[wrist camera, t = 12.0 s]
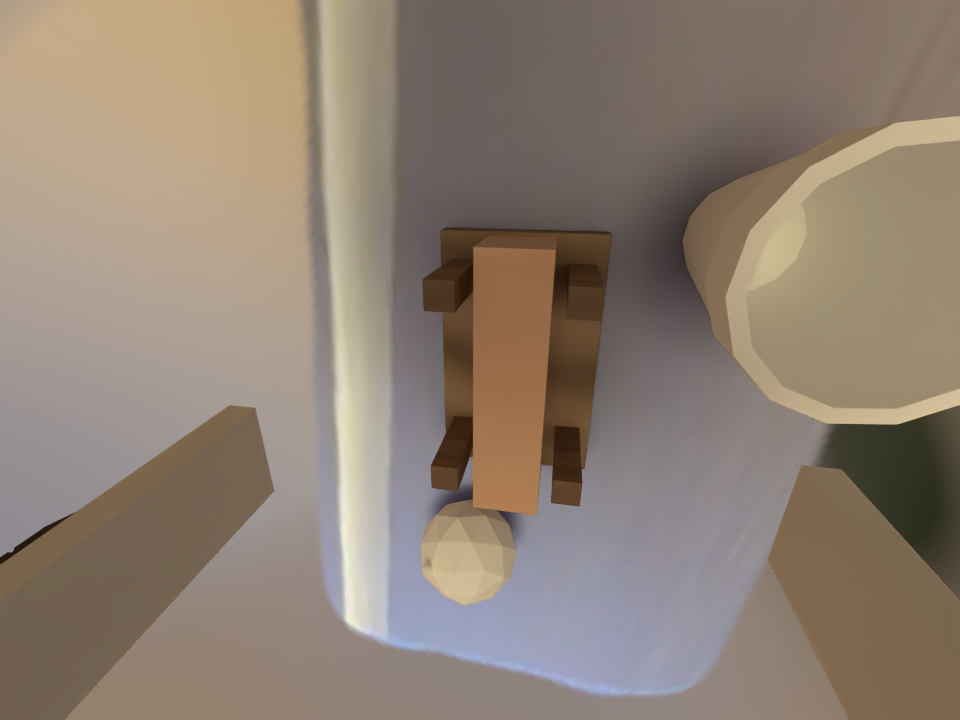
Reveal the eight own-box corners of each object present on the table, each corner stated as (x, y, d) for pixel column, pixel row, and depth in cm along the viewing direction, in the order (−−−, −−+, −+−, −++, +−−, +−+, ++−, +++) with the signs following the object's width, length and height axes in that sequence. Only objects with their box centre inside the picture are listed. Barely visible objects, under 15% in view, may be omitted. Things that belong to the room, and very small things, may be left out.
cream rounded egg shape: (474, 566, 38) (397, 608, 33) (467, 481, 38) (389, 509, 33) (539, 591, 33) (462, 646, 28) (531, 494, 33) (452, 529, 28)
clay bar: (540, 466, 32) (536, 515, 27) (486, 460, 32) (472, 506, 28) (557, 237, 26) (555, 249, 21) (489, 235, 26) (473, 247, 22)
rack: (446, 227, 28) (408, 243, 21) (609, 232, 26) (624, 250, 19) (451, 442, 34) (422, 509, 27) (583, 457, 32) (588, 531, 26)
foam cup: (739, 345, 27) (870, 472, 16) (621, 259, 27) (663, 323, 15) (878, 212, 24) (1193, 248, 12) (744, 107, 23) (933, 33, 11)
